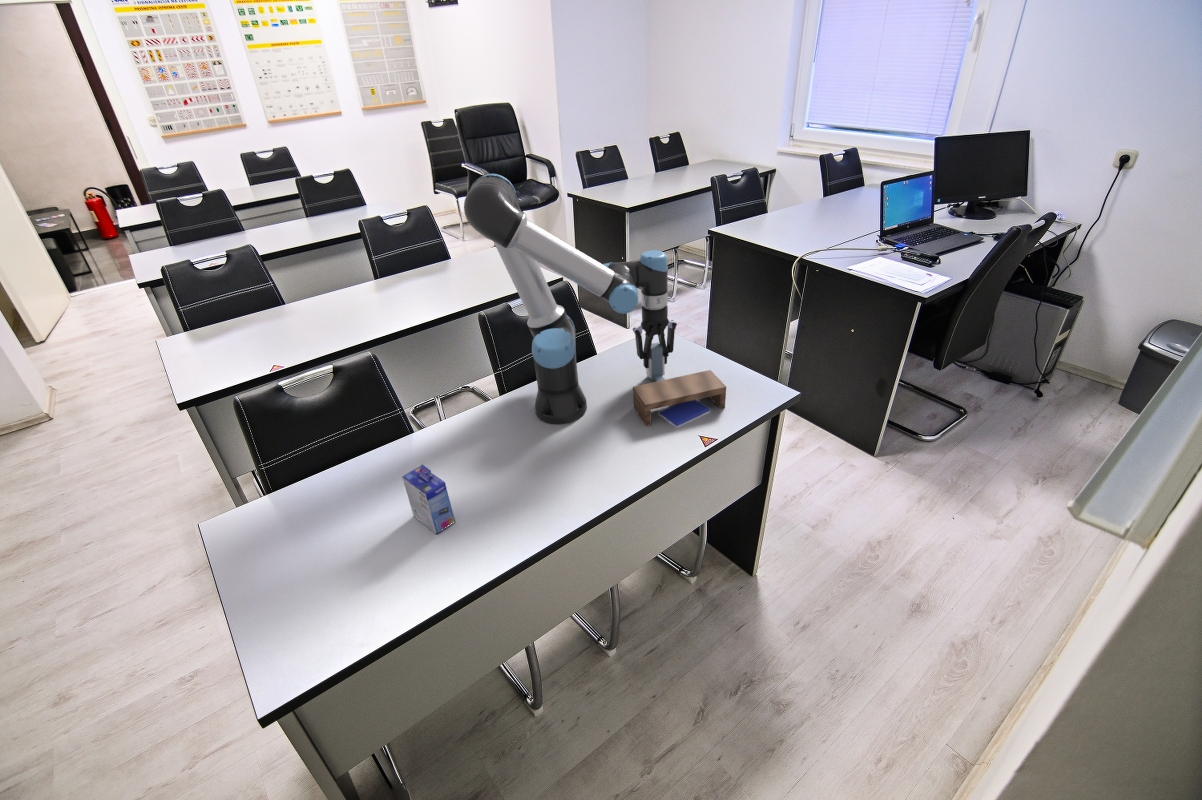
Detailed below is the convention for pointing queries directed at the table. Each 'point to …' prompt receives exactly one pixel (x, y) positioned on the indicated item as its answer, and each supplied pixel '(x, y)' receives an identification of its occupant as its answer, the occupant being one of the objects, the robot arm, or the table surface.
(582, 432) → the table surface
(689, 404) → the blue flat slab
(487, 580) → the table surface
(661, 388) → the bench
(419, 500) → the ink cartridge box
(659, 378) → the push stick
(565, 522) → the table surface
